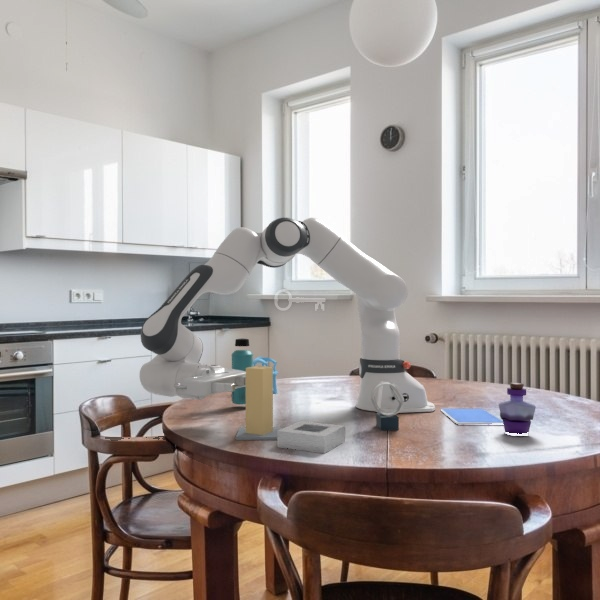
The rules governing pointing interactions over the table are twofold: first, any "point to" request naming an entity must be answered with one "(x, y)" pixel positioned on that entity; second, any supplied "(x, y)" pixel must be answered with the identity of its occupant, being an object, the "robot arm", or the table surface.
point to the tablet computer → (471, 416)
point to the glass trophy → (388, 419)
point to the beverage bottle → (241, 368)
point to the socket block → (311, 436)
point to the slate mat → (256, 435)
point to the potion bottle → (516, 410)
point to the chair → (264, 362)
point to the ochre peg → (259, 400)
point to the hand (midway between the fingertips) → (244, 385)
